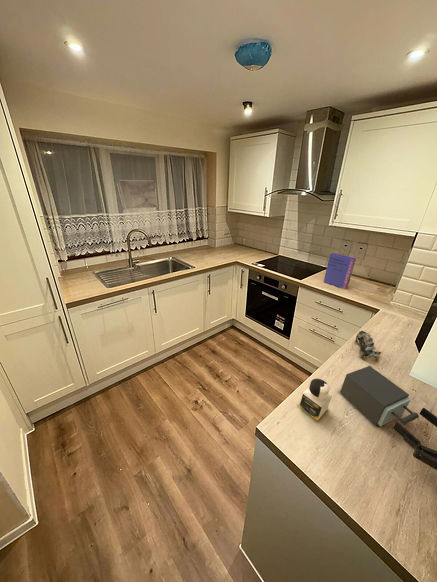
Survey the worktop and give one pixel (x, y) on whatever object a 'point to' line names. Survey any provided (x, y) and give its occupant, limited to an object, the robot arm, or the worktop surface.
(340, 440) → the worktop surface
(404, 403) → the light blue drawer
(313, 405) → the medicine bottle
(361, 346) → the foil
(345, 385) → the dark grey drawer box
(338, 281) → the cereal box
